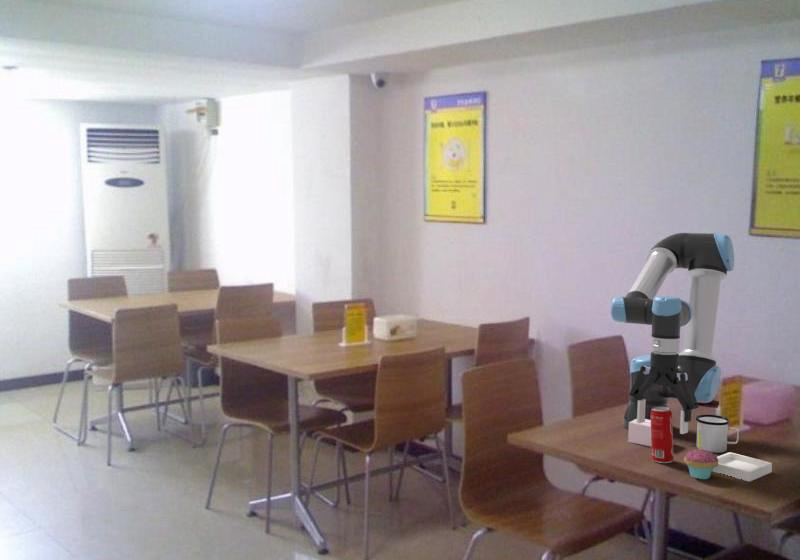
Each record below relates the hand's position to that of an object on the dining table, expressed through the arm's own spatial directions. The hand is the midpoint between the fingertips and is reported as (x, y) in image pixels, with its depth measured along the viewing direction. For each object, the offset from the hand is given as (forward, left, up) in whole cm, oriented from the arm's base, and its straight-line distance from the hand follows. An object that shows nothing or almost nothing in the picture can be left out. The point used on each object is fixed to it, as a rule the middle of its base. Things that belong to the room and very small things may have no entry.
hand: (661, 427), depth 222 cm
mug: (+4, +22, -10) cm, 25 cm away
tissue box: (-12, +12, -10) cm, 20 cm away
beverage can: (0, 0, -10) cm, 10 cm away
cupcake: (+14, -3, -10) cm, 17 cm away
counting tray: (+18, +9, -10) cm, 22 cm away
